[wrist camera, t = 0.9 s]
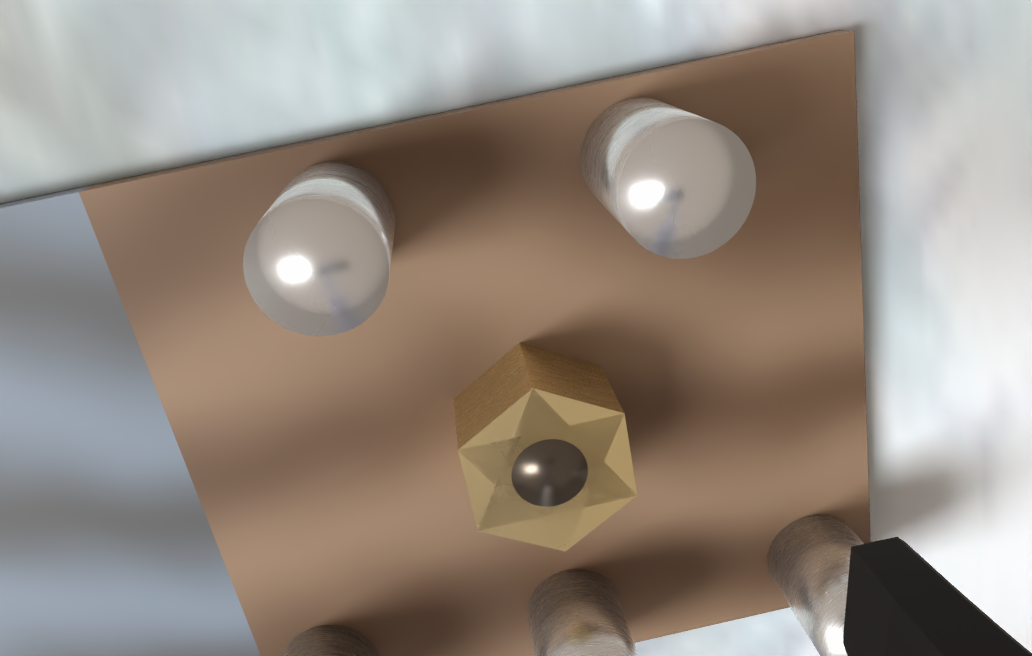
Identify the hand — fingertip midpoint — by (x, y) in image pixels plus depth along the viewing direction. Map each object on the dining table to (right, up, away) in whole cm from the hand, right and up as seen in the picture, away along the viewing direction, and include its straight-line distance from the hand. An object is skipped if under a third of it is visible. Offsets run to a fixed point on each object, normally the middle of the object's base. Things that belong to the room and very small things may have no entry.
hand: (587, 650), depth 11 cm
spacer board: (-5, +1, +14) cm, 15 cm away
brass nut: (0, +2, +13) cm, 13 cm away
